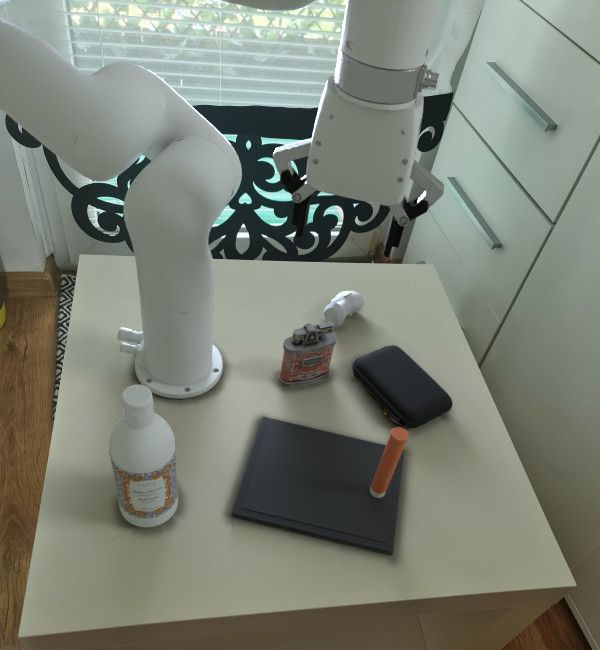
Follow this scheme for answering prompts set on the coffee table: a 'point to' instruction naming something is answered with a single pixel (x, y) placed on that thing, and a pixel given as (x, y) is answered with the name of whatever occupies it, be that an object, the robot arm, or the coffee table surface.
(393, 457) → the orange cylindrical rod
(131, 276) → the coffee table surface
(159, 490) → the bath foam
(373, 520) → the tablet
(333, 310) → the pale two-lobed sculpture
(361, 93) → the robot arm
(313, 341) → the lighter
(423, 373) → the carrying case
